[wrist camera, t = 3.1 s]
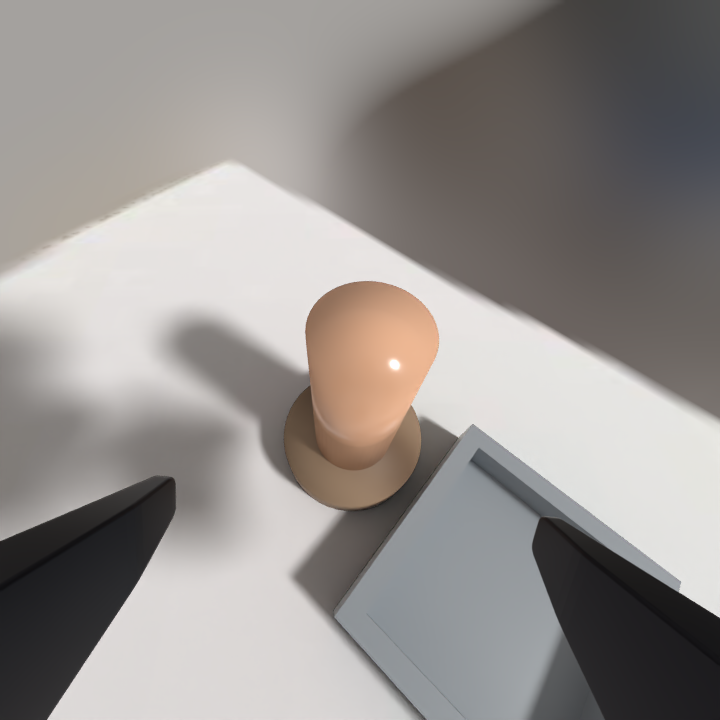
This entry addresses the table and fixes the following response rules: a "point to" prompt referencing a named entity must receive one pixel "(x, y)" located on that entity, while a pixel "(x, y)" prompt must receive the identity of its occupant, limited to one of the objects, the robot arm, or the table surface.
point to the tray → (476, 594)
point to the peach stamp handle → (366, 367)
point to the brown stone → (340, 484)
